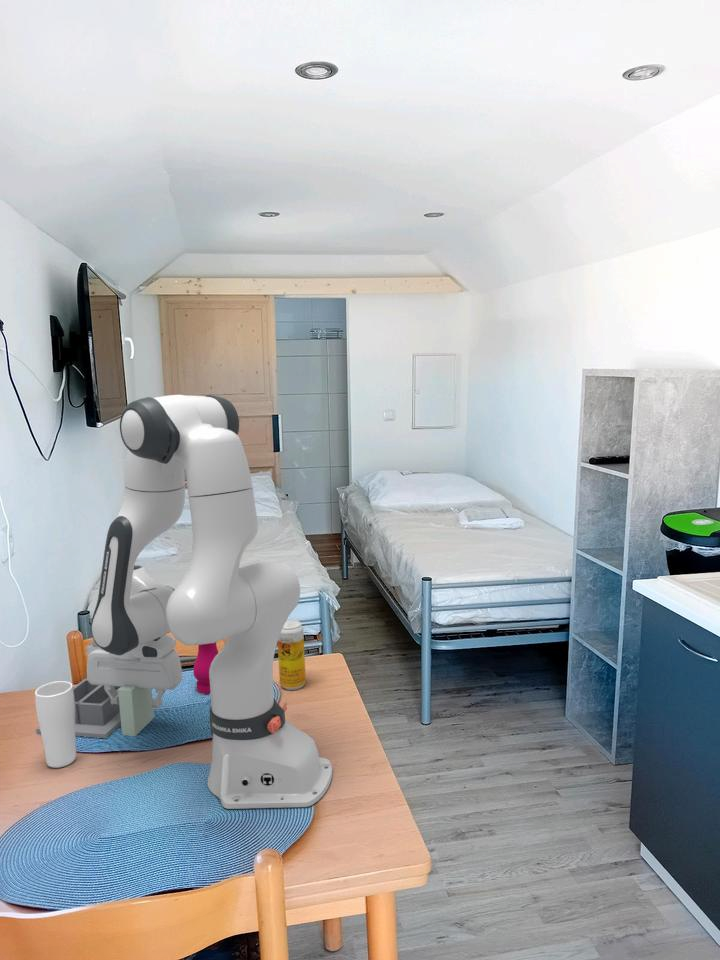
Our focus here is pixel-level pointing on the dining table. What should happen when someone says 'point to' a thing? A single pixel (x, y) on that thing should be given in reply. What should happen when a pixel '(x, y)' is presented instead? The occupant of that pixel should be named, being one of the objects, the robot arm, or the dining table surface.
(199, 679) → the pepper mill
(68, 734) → the drinking glass
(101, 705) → the dish rack
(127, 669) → the robot arm
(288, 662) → the beer can
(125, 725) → the rectangular block
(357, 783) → the dining table surface
